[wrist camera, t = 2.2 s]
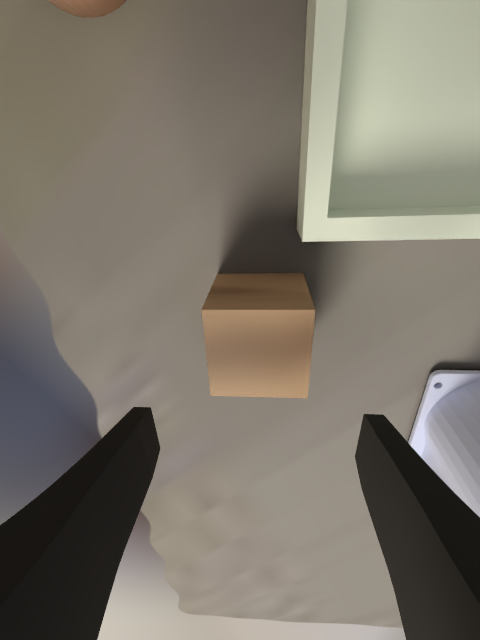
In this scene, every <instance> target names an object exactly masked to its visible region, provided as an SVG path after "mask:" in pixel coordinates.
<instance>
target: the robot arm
mask: <svg viewBox="0 0 480 640" xmlns="http://www.w3.org/2000/svg"><path fill="white" fill-rule="evenodd" d="M438 382H439V383H438ZM436 383H438V384H436ZM435 384H436V385H435ZM159 451H160V445H159V441H158V436H157V432H156V428H155V423H154V419H153V415H152V411H151V408H150V407H134V408H132V409H131V410H130V411H129V412H128V413H127V414H126V415H125V416H124V417H123V418H122V419H121V420H120V421H119V422H118V423H117V424H116V425H115V426H114V427H113V428H112V429H111V430H110V431H109V432H108V433H107V434H106V435H105V436H104V437H103V438H102V439H101V440H100V441H99V442H98V443H97V444H96V445H95V446H94V447H93V448H92V449H91V450H90V451H89V452H87V453H86V454H85V455H84V456H83V457H82V458H81V459H80V460H79V461H78V462H77V463H76V464H75V465H73V466H72V467H71V468H70V469H69V470H68V471H67V472H66V473H64V474H63V475H62V476H61V477H60V478H59V479H58V480H57V481H56V482H54V483H53V484H52V485H51V486H50V487H49V488H47V489H46V490H45V491H44V492H43V493H41V494H40V495H39V496H38V497H37V498H35V499H34V500H33V501H31V502H30V503H29V504H28V505H26V506H25V507H24V508H23V509H21V510H20V511H19V512H17V513H16V514H15V515H14V516H12V517H11V518H10V519H8V520H7V521H6V522H4V523H3V524H1V525H0V640H97V638H98V634H99V631H100V627H101V624H102V620H103V617H104V613H105V610H106V606H107V603H108V600H109V596H110V593H111V590H112V586H113V583H114V579H115V576H116V573H117V569H118V566H119V563H120V561H121V558H122V555H123V552H124V549H125V547H126V544H127V542H128V539H129V537H130V534H131V532H132V529H133V526H134V524H135V521H136V519H137V516H138V514H139V511H140V509H141V506H142V504H143V501H144V499H145V496H146V493H147V491H148V488H149V486H150V483H151V480H152V477H153V474H154V470H155V467H156V463H157V459H158V455H159ZM355 459H356V464H357V469H358V474H359V478H360V483H361V487H362V491H363V494H364V497H365V500H366V503H367V506H368V510H369V513H370V516H371V519H372V522H373V525H374V528H375V531H376V534H377V537H378V540H379V543H380V546H381V549H382V552H383V555H384V558H385V561H386V564H387V567H388V570H389V574H390V577H391V581H392V584H393V587H394V591H395V595H396V599H397V603H398V608H399V612H400V616H401V620H402V624H403V628H404V632H405V636H406V640H480V371H476V370H436V371H433V372H432V373H431V374H430V376H429V379H428V382H427V385H426V388H425V392H424V395H423V398H422V401H421V404H420V407H419V410H418V413H417V417H416V420H415V423H414V426H413V429H412V432H411V435H410V438H409V442H407V441H406V440H405V439H404V438H403V436H402V435H401V434H400V433H399V432H398V431H397V430H396V428H395V427H394V426H393V425H392V424H391V423H390V422H389V420H388V419H387V418H386V417H385V416H384V415H375V414H364V416H363V421H362V426H361V430H360V435H359V440H358V445H357V450H356V454H355Z"/></svg>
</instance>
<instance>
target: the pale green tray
mask: <svg viewBox="0 0 480 640" xmlns="http://www.w3.org/2000/svg"><path fill="white" fill-rule="evenodd" d="M297 231H298V233H299V235H300V238H301V240H302V242H318V241H370V240H422V239H474V238H480V0H308V4H307V24H306V45H305V66H304V86H303V107H302V128H301V148H300V169H299V190H298V210H297Z"/></svg>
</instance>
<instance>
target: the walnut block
mask: <svg viewBox="0 0 480 640" xmlns="http://www.w3.org/2000/svg"><path fill="white" fill-rule="evenodd" d="M202 319H203V328H204V337H205V347H206V356H207V365H208V374H209V384H210V393H211V396H244V397H282V398H308V388H309V376H310V365H311V353H312V342H313V330H314V319H315V307H314V304H313V301H312V298H311V295H310V292H309V289H308V286H307V283H306V280H305V277H304V274H303V273H238V274H217V276H216V278H215V281H214V283H213V285H212V287H211V290H210V292H209V294H208V296H207V299H206V301H205V303H204V305H203V308H202Z"/></svg>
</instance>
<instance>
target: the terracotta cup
mask: <svg viewBox="0 0 480 640" xmlns="http://www.w3.org/2000/svg"><path fill="white" fill-rule="evenodd" d="M48 1H49V2H51V3H52V4H53V5H55V6H56V7H58V8H59V9H61V10H63V11H65V12H67V13H70V14H72V15H75V16H80V17H99V16H103V15H106V14H109V13H111V12H113V11H114V10H116V9H117V8H119V7H120V6H121V5H122V4H123V3H124V2H125V1H126V0H48Z"/></svg>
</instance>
